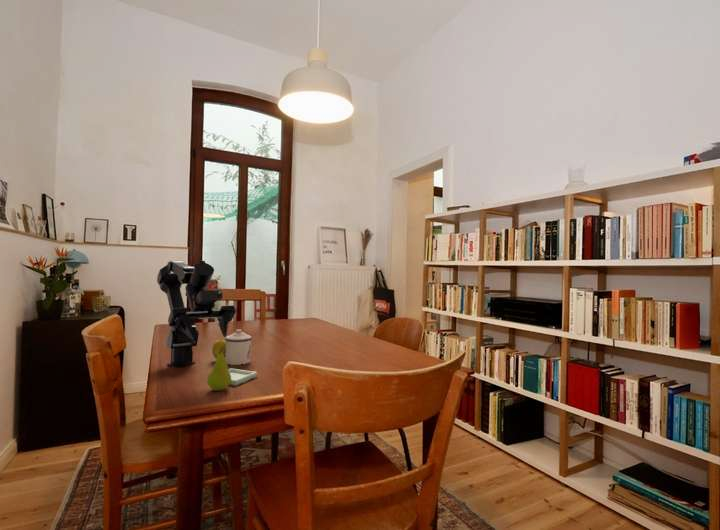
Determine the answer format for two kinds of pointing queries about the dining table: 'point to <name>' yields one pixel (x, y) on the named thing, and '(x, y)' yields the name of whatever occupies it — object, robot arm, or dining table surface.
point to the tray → (240, 376)
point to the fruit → (219, 374)
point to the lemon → (219, 348)
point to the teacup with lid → (238, 348)
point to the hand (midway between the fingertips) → (210, 337)
